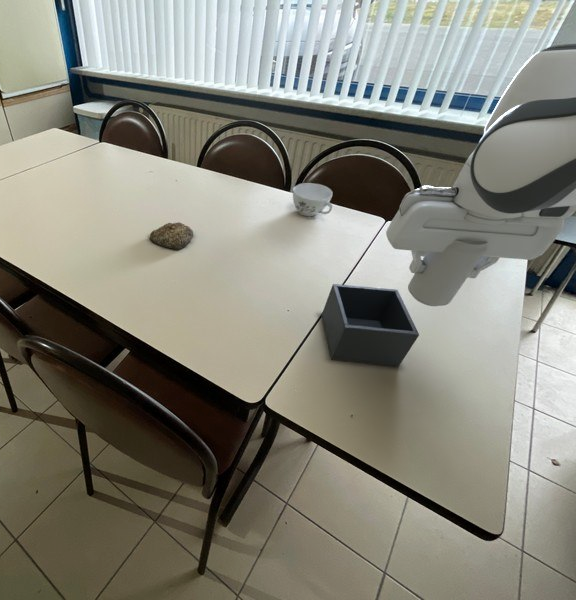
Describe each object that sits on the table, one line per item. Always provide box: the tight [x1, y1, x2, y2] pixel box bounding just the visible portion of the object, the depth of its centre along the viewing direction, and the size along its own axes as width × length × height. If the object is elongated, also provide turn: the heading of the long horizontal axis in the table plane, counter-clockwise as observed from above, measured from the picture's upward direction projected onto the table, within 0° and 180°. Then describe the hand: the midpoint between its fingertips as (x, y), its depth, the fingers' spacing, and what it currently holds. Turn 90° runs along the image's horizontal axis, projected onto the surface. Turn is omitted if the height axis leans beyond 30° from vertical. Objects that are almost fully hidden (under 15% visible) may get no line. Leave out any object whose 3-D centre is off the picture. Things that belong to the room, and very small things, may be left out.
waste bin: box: [320, 283, 420, 368], centre depth 78 cm, size 14×14×10 cm
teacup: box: [292, 182, 333, 217], centre depth 122 cm, size 15×12×8 cm
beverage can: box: [407, 240, 488, 307], centre depth 56 cm, size 6×6×12 cm
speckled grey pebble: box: [149, 221, 194, 250], centre depth 112 cm, size 13×12×5 cm
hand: (441, 273), depth 57 cm, fingers closed on beverage can, 6 cm apart
